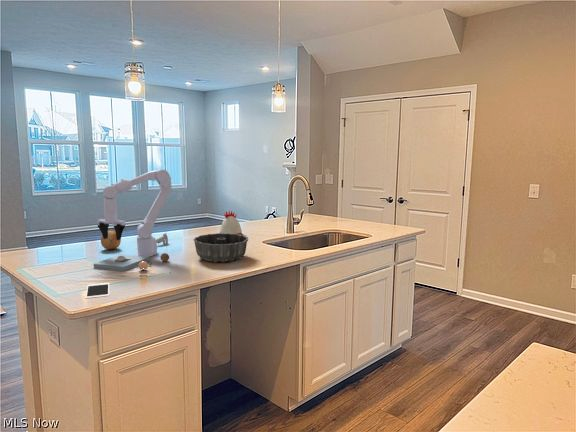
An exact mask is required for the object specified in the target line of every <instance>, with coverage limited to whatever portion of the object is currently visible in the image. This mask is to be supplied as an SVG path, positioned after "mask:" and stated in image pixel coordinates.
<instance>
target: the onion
mask: <svg viewBox="0 0 576 432" xmlns="http://www.w3.org/2000/svg"><path fill="white" fill-rule="evenodd" d="M121 242H122V238H121V239H120V240H117V239H116V232H115V230H108V238H107V239H104V238H103V235H102V234H101V236H100V244H101V246H102V247H103V248H104V249H105V250H116V249H118V248H119V247H120V245H121Z"/></svg>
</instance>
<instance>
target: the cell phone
mask: <svg viewBox="0 0 576 432" xmlns="http://www.w3.org/2000/svg"><path fill="white" fill-rule="evenodd" d="M110 284H111V283H110V282H103V283H92V284H87V286H86V293H85V298H84V299H94V298H102V297H109V296H110Z"/></svg>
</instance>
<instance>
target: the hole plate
mask: <svg viewBox="0 0 576 432" xmlns="http://www.w3.org/2000/svg"><path fill="white" fill-rule="evenodd" d="M119 256H124V257H125V258H126V262H117V261H116V260H117V258H118V257H119ZM150 258H151V256H150V257H143V256H134V254H133V255H131V254H123V253H122V254H118V255H115V256H113V257H109V258H106V259H103V260H100V261H97V262H94V263H93V269H99V270H101V269H102V270H110V271H116V272H117V271H119V272H126V271H128V270H131V269H134V268H136V267H138V265H139V263H140V262H142V261H145V262H147V263H149V262H150V260H151V259H150Z"/></svg>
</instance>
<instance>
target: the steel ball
mask: <svg viewBox="0 0 576 432" xmlns="http://www.w3.org/2000/svg"><path fill="white" fill-rule="evenodd" d="M116 261H117V262H126V258H125V257H124V256H119V257H118V258H117V260H116Z"/></svg>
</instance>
